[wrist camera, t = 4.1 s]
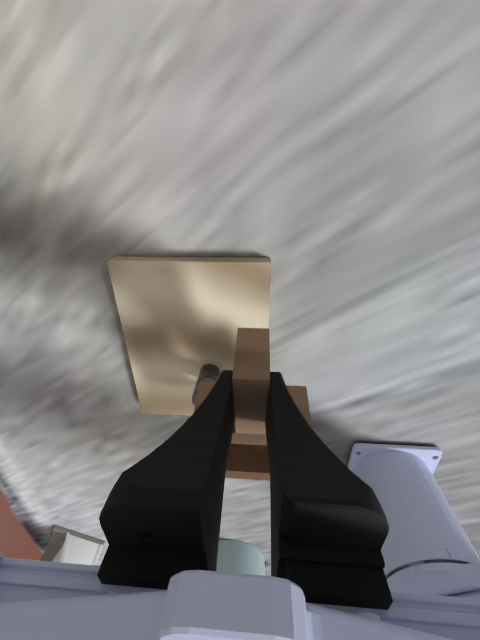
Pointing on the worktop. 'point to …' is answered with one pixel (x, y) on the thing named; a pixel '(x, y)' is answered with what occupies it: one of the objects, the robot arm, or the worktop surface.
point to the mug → (239, 558)
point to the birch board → (185, 319)
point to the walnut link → (252, 405)
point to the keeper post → (205, 378)
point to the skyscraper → (72, 547)
